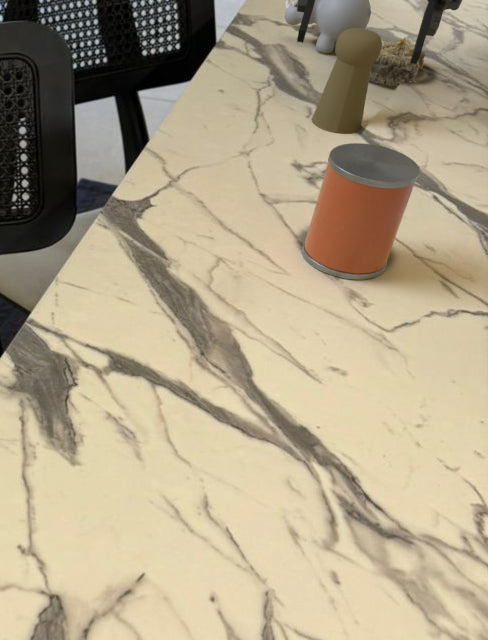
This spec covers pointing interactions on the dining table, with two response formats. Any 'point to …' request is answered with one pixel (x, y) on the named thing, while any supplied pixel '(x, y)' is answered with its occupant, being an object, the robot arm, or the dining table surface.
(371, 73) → the cake
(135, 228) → the dining table surface
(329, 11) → the round bodied animal figurine
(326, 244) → the tin can
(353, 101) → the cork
